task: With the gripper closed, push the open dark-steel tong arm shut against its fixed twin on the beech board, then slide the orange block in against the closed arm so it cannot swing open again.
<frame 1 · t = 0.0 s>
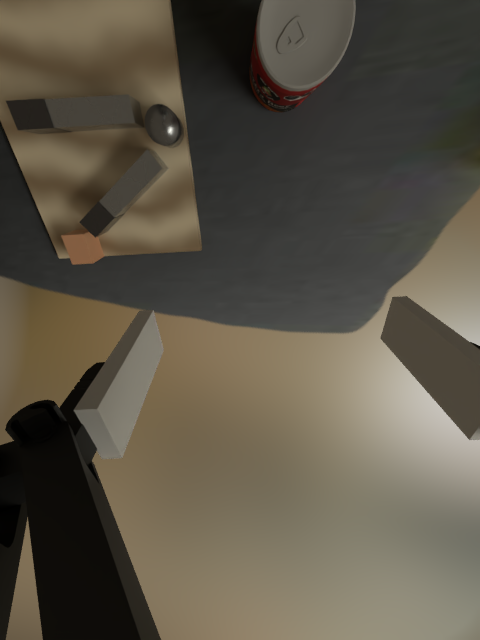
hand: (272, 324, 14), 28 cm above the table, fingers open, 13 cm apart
canned food: (282, 72, 30), on the table
tong arm: (124, 195, 33), point 3 cm above the table, hinge at 35.0°
tongs fixed: (169, 130, 31), resting on board
orange block: (84, 246, 36), point 3 cm above the table, slide at 0.0 cm, touching board
board: (101, 135, 32), on the table
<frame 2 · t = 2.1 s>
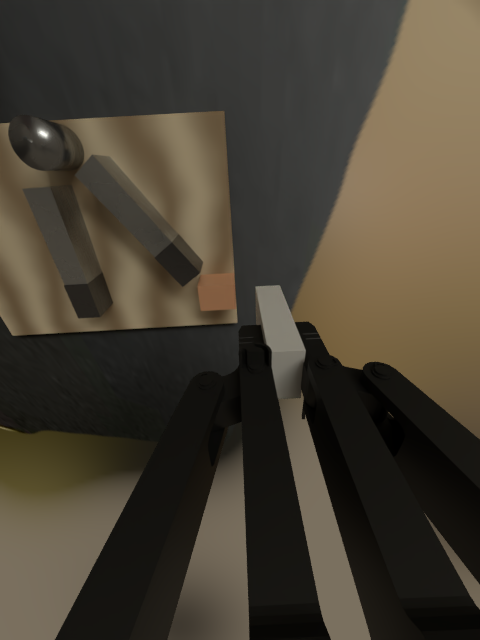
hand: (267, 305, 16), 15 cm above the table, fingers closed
tong arm: (148, 225, 25), point 3 cm above the table, hinge at 35.0°
tongs fixed: (63, 147, 23), resting on board
orange block: (217, 291, 29), point 3 cm above the table, slide at 0.0 cm, touching board
board: (101, 243, 29), on the table
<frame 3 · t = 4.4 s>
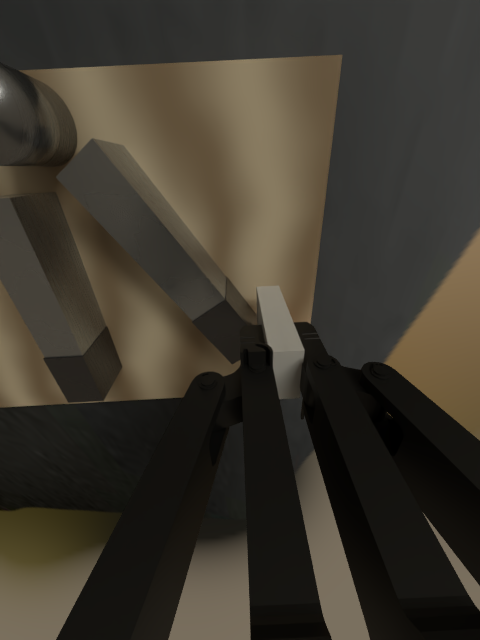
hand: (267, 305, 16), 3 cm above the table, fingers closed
tong arm: (184, 266, 15), point 3 cm above the table, hinge at 32.6°, touching gripper
tongs fixed: (39, 124, 13), resting on board
board: (106, 282, 18), on the table
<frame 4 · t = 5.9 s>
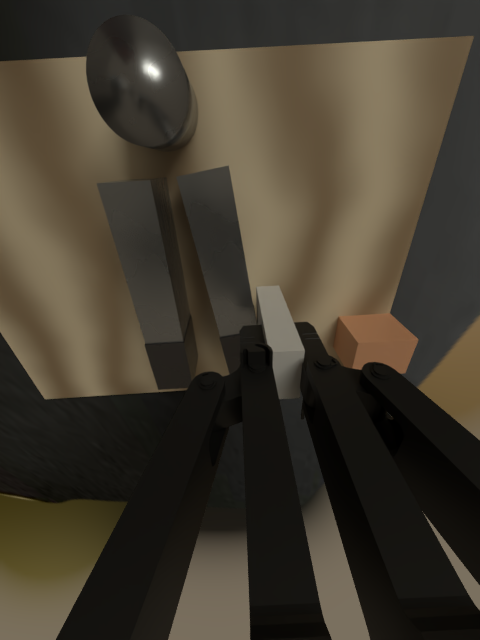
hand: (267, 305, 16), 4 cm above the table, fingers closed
tong arm: (230, 287, 16), point 3 cm above the table, hinge at 7.6°, touching board, gripper
tongs fixed: (162, 108, 13), resting on board
orange block: (370, 343, 19), point 3 cm above the table, slide at 0.0 cm, touching board
board: (191, 270, 18), on the table
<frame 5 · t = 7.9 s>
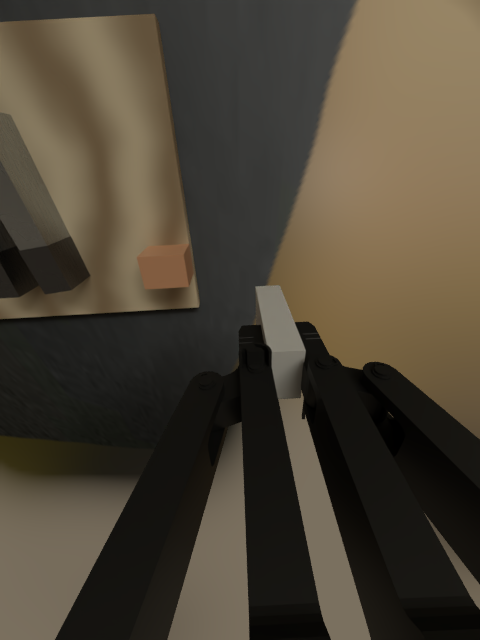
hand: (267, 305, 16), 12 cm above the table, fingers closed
tong arm: (29, 212, 21), point 3 cm above the table, hinge at 6.0°
orange block: (167, 266, 24), point 3 cm above the table, slide at 0.0 cm, touching board
board: (22, 206, 23), on the table
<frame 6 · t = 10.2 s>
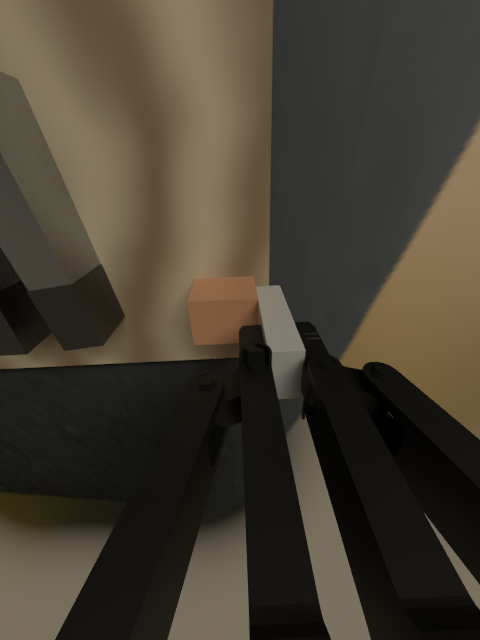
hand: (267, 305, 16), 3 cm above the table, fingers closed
tong arm: (44, 233, 14), point 3 cm above the table, hinge at 6.0°
orange block: (225, 309, 16), point 3 cm above the table, slide at 1.0 cm, touching board, gripper
board: (33, 220, 16), on the table
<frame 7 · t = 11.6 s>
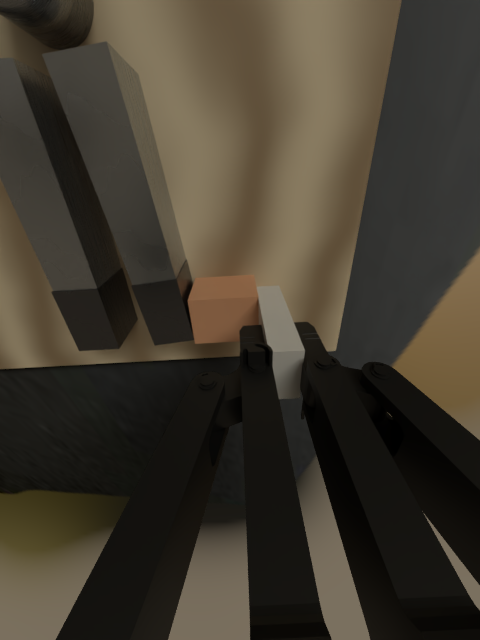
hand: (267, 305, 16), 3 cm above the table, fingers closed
tong arm: (148, 227, 14), point 3 cm above the table, hinge at 5.4°, touching orange block
orange block: (225, 307, 16), point 3 cm above the table, slide at 6.7 cm, touching board, gripper, tong arm
board: (121, 216, 16), on the table
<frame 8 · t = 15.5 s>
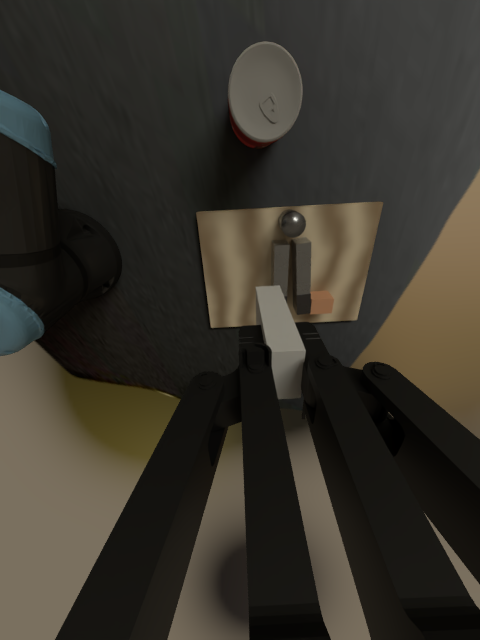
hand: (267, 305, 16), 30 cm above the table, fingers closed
canned food: (256, 115, 35), on the table
tong arm: (301, 277, 44), point 3 cm above the table, hinge at 4.5°
tongs fixed: (288, 220, 41), resting on board
orange block: (319, 302, 47), point 3 cm above the table, slide at 6.9 cm, touching board
board: (285, 270, 47), on the table
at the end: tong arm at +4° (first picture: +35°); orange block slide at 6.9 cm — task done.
